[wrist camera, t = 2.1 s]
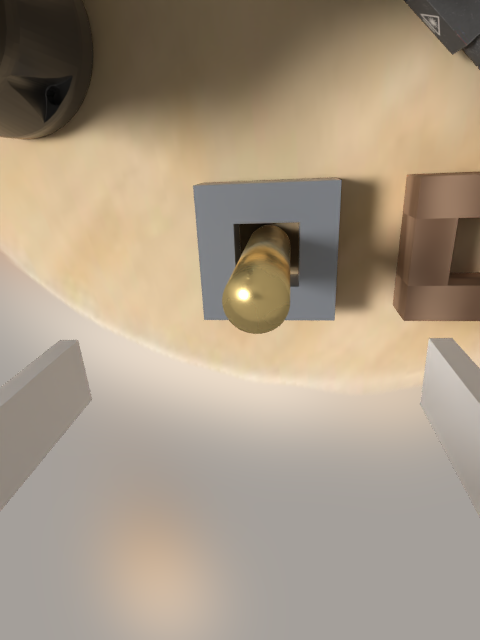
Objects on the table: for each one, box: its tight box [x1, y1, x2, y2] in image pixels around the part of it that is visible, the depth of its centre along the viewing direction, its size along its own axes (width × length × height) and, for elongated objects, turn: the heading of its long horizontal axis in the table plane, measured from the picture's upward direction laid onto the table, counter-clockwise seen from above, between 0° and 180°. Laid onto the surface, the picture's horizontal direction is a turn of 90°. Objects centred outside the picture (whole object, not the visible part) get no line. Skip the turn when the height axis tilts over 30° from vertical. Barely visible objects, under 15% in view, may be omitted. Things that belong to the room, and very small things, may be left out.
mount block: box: [193, 178, 342, 320], centre depth 36 cm, size 12×12×4 cm
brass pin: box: [222, 225, 290, 334], centre depth 30 cm, size 4×4×16 cm
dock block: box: [393, 172, 480, 321], centre depth 34 cm, size 12×12×4 cm
